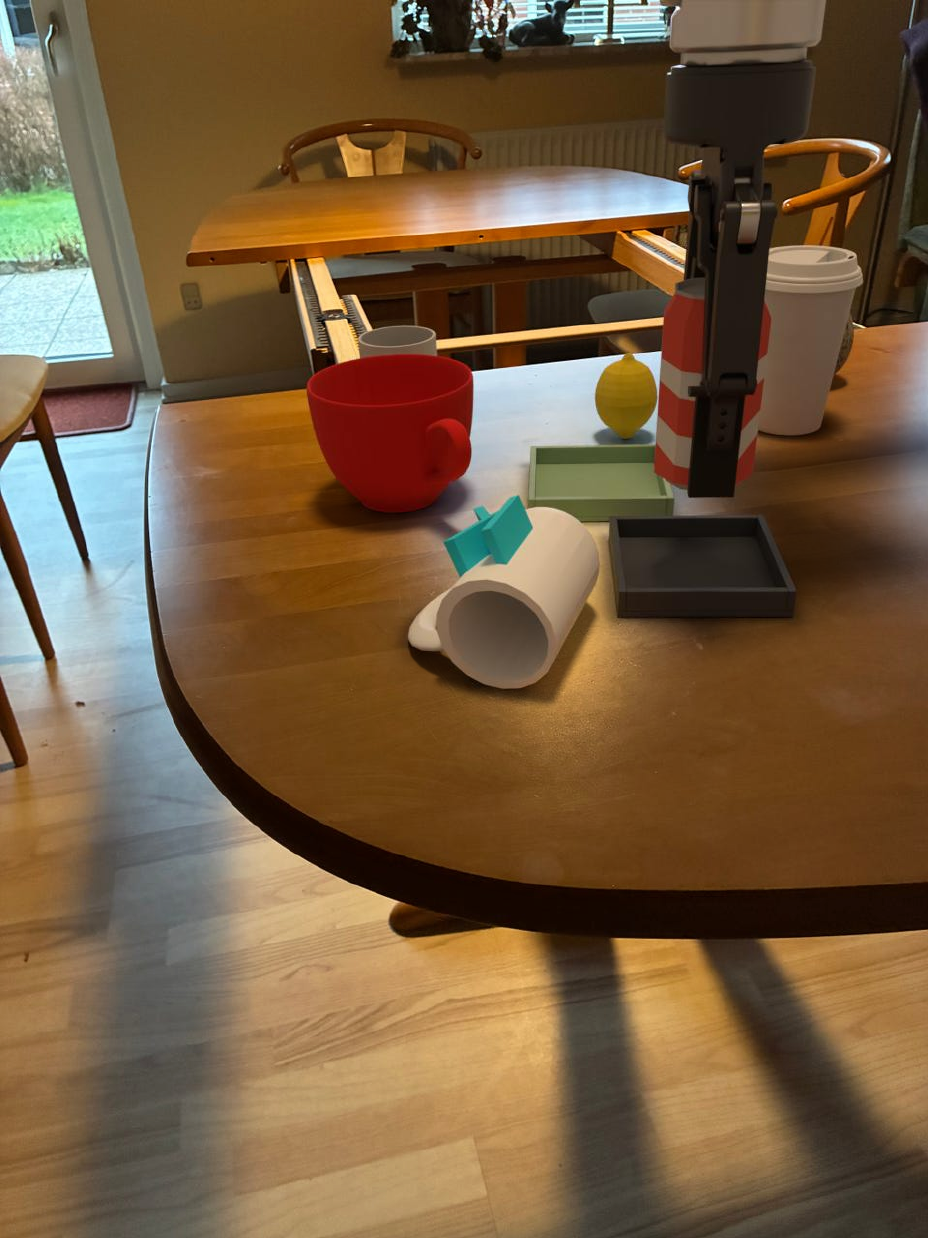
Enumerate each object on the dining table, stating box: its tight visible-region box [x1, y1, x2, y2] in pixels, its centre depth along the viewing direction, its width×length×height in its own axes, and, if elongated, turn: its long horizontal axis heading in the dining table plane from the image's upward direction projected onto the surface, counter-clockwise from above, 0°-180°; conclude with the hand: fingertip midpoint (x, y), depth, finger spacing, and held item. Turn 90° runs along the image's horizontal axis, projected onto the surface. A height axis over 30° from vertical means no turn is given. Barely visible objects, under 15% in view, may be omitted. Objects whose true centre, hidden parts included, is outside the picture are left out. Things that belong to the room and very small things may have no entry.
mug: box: [407, 494, 601, 690], centre depth 59 cm, size 12×9×12 cm
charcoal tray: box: [608, 514, 798, 618], centre depth 65 cm, size 11×11×2 cm
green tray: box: [527, 443, 675, 522], centre depth 77 cm, size 11×11×2 cm
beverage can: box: [654, 278, 771, 491], centre depth 58 cm, size 6×6×12 cm
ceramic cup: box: [306, 354, 475, 514], centre depth 75 cm, size 13×17×10 cm
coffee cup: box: [758, 244, 864, 436], centre depth 85 cm, size 10×10×15 cm
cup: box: [357, 325, 438, 358], centre depth 89 cm, size 7×10×9 cm
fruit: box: [594, 351, 659, 440], centre depth 85 cm, size 6×6×8 cm
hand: (702, 471), depth 61 cm, fingers closed on beverage can, 6 cm apart
